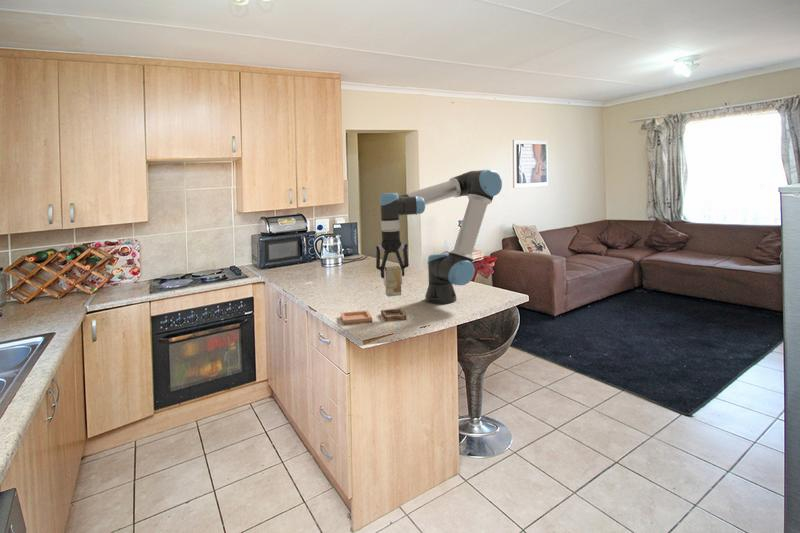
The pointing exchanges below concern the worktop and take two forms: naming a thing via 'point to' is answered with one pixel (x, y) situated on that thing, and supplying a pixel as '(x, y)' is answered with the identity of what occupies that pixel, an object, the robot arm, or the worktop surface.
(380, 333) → the worktop surface
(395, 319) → the pocket frame
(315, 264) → the worktop surface
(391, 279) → the skincare box
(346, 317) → the tray
